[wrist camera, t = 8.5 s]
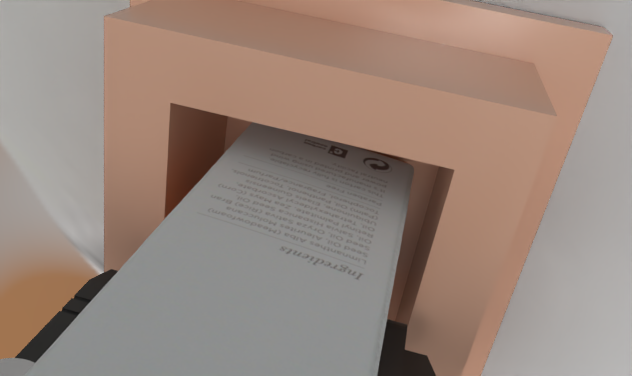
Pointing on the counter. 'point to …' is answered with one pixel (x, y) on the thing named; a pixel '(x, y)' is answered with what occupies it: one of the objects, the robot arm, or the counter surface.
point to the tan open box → (361, 128)
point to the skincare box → (255, 270)
